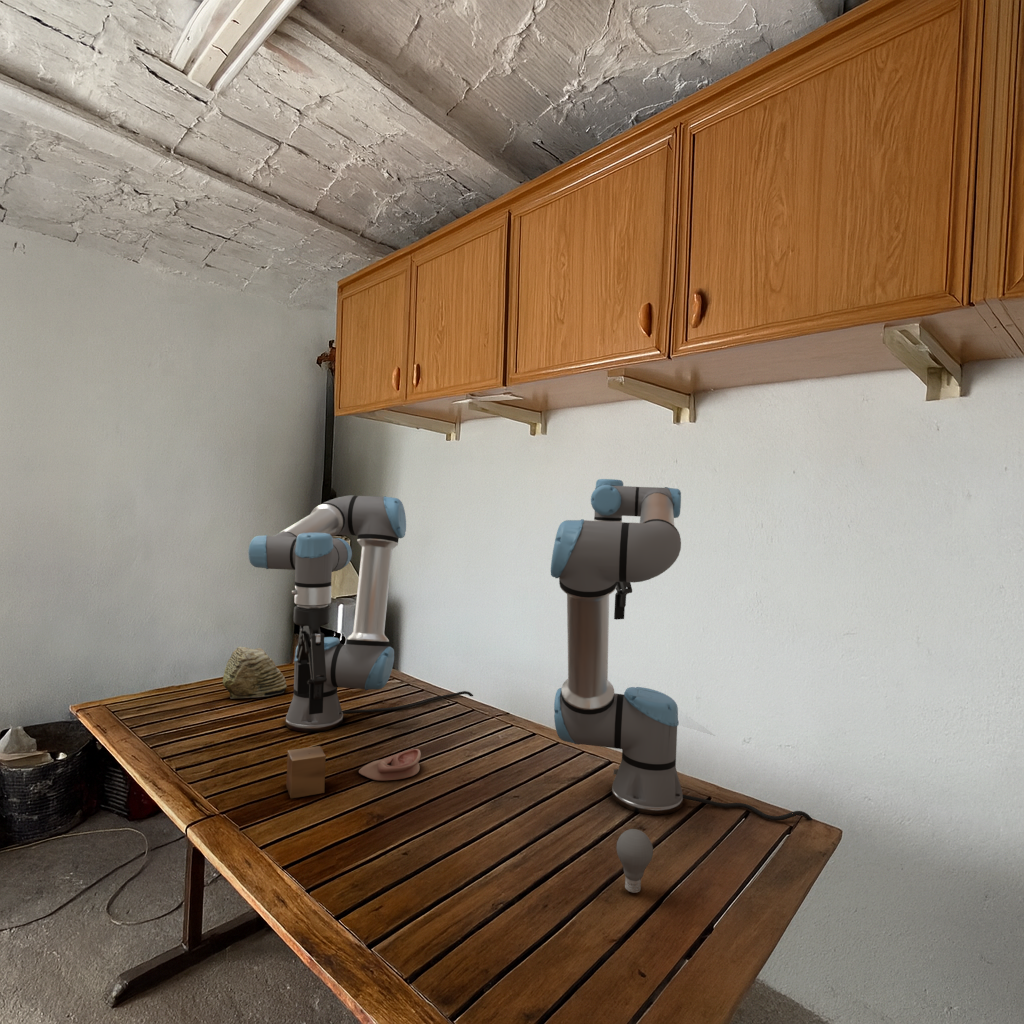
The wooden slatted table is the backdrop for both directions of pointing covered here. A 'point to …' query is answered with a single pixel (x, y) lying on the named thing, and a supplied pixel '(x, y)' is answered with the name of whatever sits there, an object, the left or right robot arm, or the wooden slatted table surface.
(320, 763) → the light brown block
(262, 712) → the wooden slatted table surface
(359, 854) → the wooden slatted table surface
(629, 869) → the light bulb
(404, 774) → the anatomical model
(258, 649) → the fossil
